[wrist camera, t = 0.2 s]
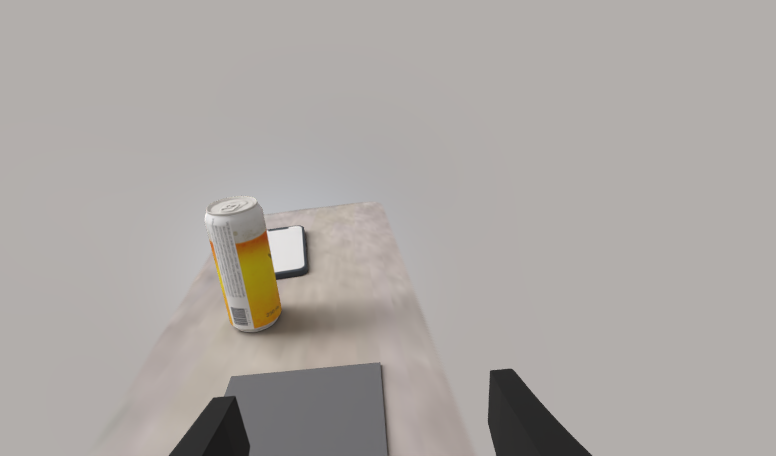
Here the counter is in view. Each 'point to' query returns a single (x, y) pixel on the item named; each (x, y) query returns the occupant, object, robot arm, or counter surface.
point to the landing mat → (313, 411)
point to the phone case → (288, 251)
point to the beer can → (243, 262)
